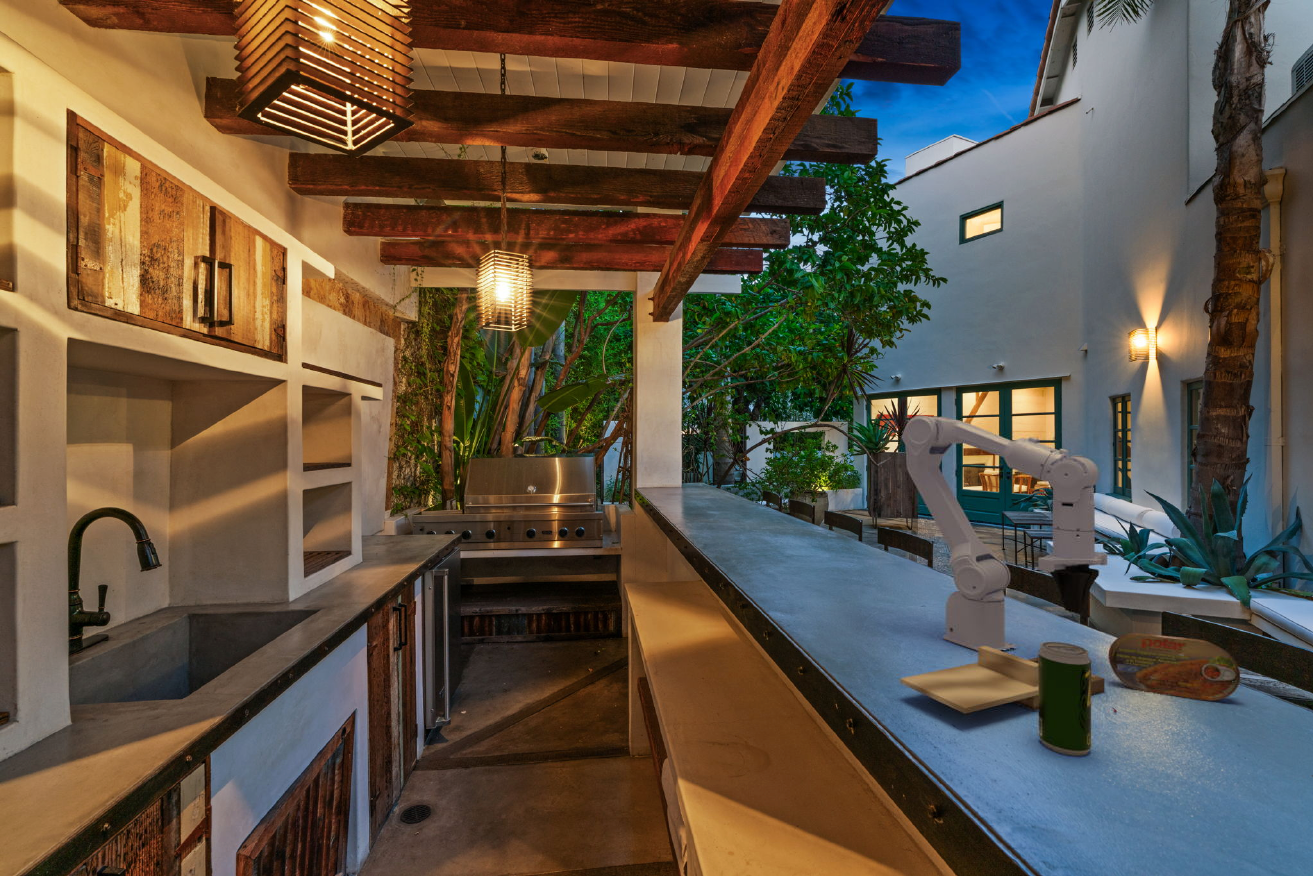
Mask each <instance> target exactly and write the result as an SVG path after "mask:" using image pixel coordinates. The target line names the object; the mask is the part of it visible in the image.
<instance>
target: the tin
mask: <svg viewBox="0 0 1313 876" xmlns="http://www.w3.org/2000/svg"><path fill="white" fill-rule="evenodd" d="M1108 661H1109V665H1110V668H1111V669H1112V672H1113V673H1114V674H1115V676H1116V678H1118V680H1120V682H1121V683H1122V684H1124V685H1125V686H1127V687H1129V688H1130V689H1133V690H1136V691H1138V690H1139V691H1138V692H1143V691H1144V692H1143V693H1149V692H1153V693H1152V694H1156V693H1157V694H1156V695H1163V694H1166V696H1171V695H1173V696H1172V697H1177V698H1178V697H1179V698H1184V699H1192V700H1198V701H1199V700H1200V701H1209V702H1214V701H1219V700H1223V699H1225V698H1228V697H1229V696H1231V695H1232V694H1233V693H1235V692H1236V690H1237V689H1238V687H1239V685H1240V683H1241V682H1240V681H1241V671H1240V669H1239V665H1238V663H1237V662H1236V659H1234V658H1233V656H1231V654H1230V653H1229V652H1228V651H1226V650H1225V649H1223V648H1221V647H1220V646H1218V645H1216V644H1213V643H1212V642H1209V641H1206V640H1203V639H1197V638H1187V637H1178V636H1177V637H1176V636H1170V635H1169V636H1167V635H1160V634H1159V635H1158V634H1149V633H1141V632H1140V633H1139V632H1132V633H1125V634H1122V635H1121V636H1119V637H1117V638H1115V640H1114V641H1113V642H1112V643H1111V644H1110V646H1109V649H1108ZM1219 677H1220V678H1219ZM1232 681H1233V682H1232ZM1237 683H1238V684H1237Z"/></svg>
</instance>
